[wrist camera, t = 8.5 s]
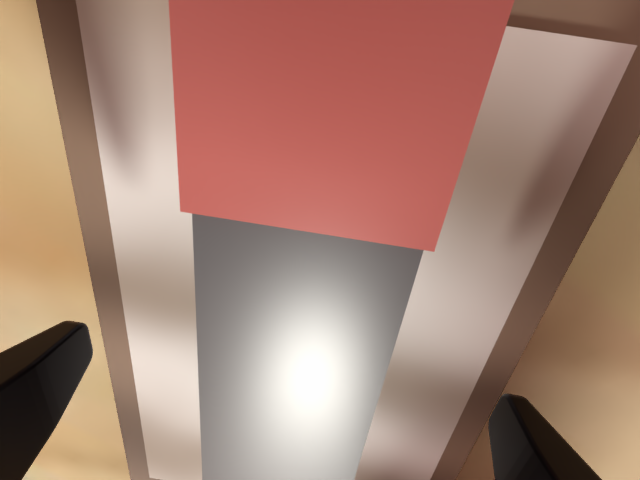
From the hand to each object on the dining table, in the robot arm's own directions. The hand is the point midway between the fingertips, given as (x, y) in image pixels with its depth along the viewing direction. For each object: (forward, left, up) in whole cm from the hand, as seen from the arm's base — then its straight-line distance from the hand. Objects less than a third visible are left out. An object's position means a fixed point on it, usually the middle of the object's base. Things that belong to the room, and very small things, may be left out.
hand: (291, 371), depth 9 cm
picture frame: (-2, 0, -4) cm, 4 cm away
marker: (0, 0, -3) cm, 3 cm away
